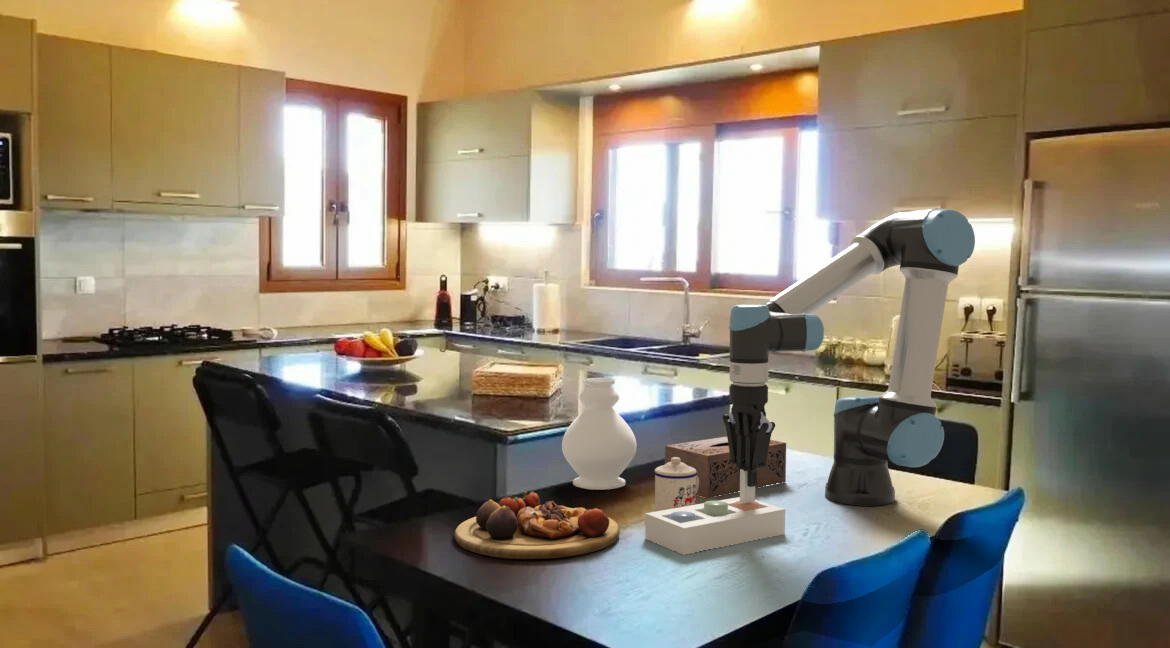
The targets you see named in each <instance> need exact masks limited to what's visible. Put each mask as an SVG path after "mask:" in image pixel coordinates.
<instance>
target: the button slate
mask: <svg viewBox="0 0 1170 648" xmlns="http://www.w3.org/2000/svg"><path fill="white" fill-rule="evenodd" d="M671 520H674V521H676V522H679V523H684V522H689V521H695V514H694V513H692V512H685V511H679V512H673V513H671Z"/></svg>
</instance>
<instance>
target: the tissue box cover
mask: <svg viewBox="0 0 1170 648" xmlns="http://www.w3.org/2000/svg"><path fill="white" fill-rule="evenodd" d="M664 447H665V448H664V465H665V464H666V463H668V462H671V458H673V457H678V458H680V462H682V463H685V464H686V465H687V466H690V467H693V468H695V469H696V471H697V476H698V478H699V487H698V491H697V493H696V495H698V496H697V497H700V496H702V497H701V498H703V497H705V498H704V499H707V498H708V499H711V498H710V497H713V498H715V497H714V496H718V497H720V496H719V495H723V496H725V495H724V494H728V495H730V494H729V493H733V494H735V493H734V492H738V491H740V484H739V481H738V474H739V469H738V467H737V465H736V464H735V463H734V464H733V463H731V459H730V452H729V445H728V438H727V435H726V436H720V437H714V438H708V439H707V438H706V439H701V440H700V439H699V440H693V441H687V442H681V443H673V444H668V445H665V446H664ZM736 457H737V456H736ZM786 473H787V442H783V441H778V440H774V439H770V444H769V449H768V454H767V460H766V465H765V467H764V468H760V469H758V470H757V485H756V486H755V488H758V487H763V486H766V485H771V484H776V483H782V482H786V483H787V481H786V480H787V479H786V477H787V474H786ZM763 488H764V487H763ZM758 489H759V488H758ZM738 493H739V492H738Z"/></svg>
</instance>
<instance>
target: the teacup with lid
mask: <svg viewBox="0 0 1170 648" xmlns="http://www.w3.org/2000/svg"><path fill="white" fill-rule="evenodd" d="M653 474H654V475H655V476H654V493H655V494H654V512H656V511H662V510H668V509H673V508H679V507H685V506H691V505H696V504H697V503H696V502H697V500H696V499H697V496H696V493H697V491H698V487H699V478H698V476H697V471H696V469H695V468H693V467H690V466H687V465H686V464H685V463H682V462H680V458H678V457H673V458H671V462H668V463H666V464H665V463H664V465H659V466H657V467H656V468H655V469H654V472H653Z"/></svg>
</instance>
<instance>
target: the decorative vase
mask: <svg viewBox="0 0 1170 648" xmlns="http://www.w3.org/2000/svg"><path fill="white" fill-rule="evenodd" d="M583 384H585V385H586V387H584V388H583V390H581V391H580V393H579V400H580V402H581V403H582V404H583V406H585V407H586V408H585V409H584V410H583V411H581V413H579V415H577V417H576V418H574V420H573V421H572V422H571V424H570V425H569V426H568V428H567V429H566V431H565V433H564V434H563V437H562V442H561V450H562V451H561V452H562V454H563V456H564V458H565V460H566V462H567V463H568V464H569V465H570V466H571V468H572V469H573V470H574V472H575V473H576V474H577V475H578V476H579V477H575V478H574V479H573V480H572V484H573V486H575V487H577V488H580V489H586V490H598V491H599V490H603V491H604V490H612V489H613V490H614V489H619V488H622V487H624V486H625V485H626V479H624V478H622V477H620V475H621V474H622V473H623V472H624V471H625V470H626V468H627V467H628V465H630V463H631V462H632V460H633V459H634V457H635V455H636V453H637V440H636V439H637V438H636V436H635V434H634V431H633V430H632V428H631V427H630V425H629V424H628V423H627V422H626V421H625V419H624V418H623V417H622V416H621V415H620V414H619V413H618V412H617V411H616V410H615V409H614V406H615V405H616V404H617V403H618V401H619V399H620V395H619V392H618V391H617V390H616V389H615V388H614V387H612V385H614V384H616V379H615V378H610V377H589V378H584V379H583Z"/></svg>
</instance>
